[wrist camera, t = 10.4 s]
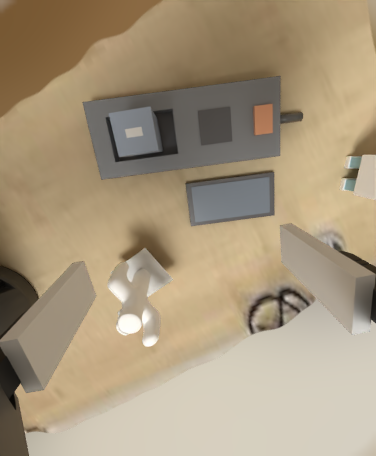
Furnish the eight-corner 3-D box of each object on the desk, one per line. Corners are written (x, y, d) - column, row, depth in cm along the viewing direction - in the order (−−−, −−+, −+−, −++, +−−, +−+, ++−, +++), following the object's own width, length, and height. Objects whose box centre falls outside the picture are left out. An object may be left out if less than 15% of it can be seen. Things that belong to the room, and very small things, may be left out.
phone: (190, 224, 39) (191, 226, 38) (185, 183, 36) (185, 184, 35) (272, 213, 39) (274, 215, 38) (272, 171, 36) (274, 172, 36)
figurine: (143, 234, 39) (124, 281, 25) (177, 273, 41) (177, 336, 27) (112, 257, 40) (75, 316, 26) (146, 294, 42) (130, 365, 28)
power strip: (107, 177, 36) (100, 180, 32) (90, 106, 32) (80, 101, 29) (297, 152, 36) (309, 152, 32) (299, 79, 32) (313, 70, 29)
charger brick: (133, 156, 34) (118, 156, 26) (126, 123, 33) (108, 113, 24) (163, 151, 34) (158, 150, 25) (157, 118, 33) (150, 106, 24)
